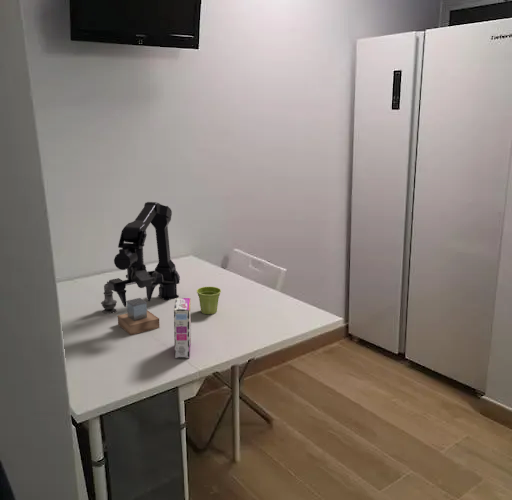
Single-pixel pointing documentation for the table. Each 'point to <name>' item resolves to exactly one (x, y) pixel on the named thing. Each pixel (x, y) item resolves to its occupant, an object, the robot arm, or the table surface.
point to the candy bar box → (182, 327)
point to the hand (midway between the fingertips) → (137, 303)
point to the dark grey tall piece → (108, 300)
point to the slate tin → (137, 309)
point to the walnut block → (138, 323)
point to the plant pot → (208, 299)
